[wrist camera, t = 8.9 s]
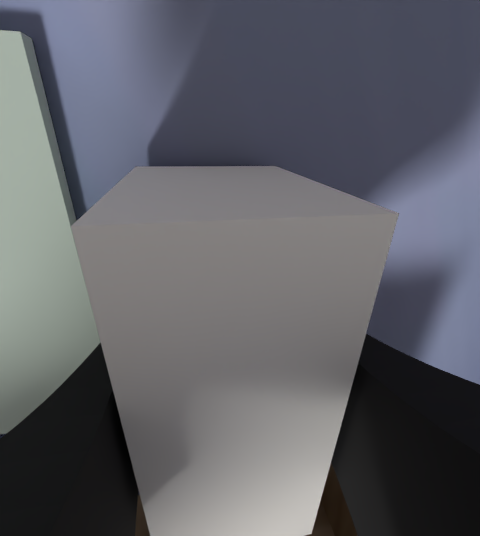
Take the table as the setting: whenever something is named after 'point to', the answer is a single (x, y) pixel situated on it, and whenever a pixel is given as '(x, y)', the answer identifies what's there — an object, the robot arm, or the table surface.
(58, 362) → the pale green panel
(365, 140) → the table surface
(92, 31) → the table surface
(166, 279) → the cream block
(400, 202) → the table surface
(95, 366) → the robot arm
